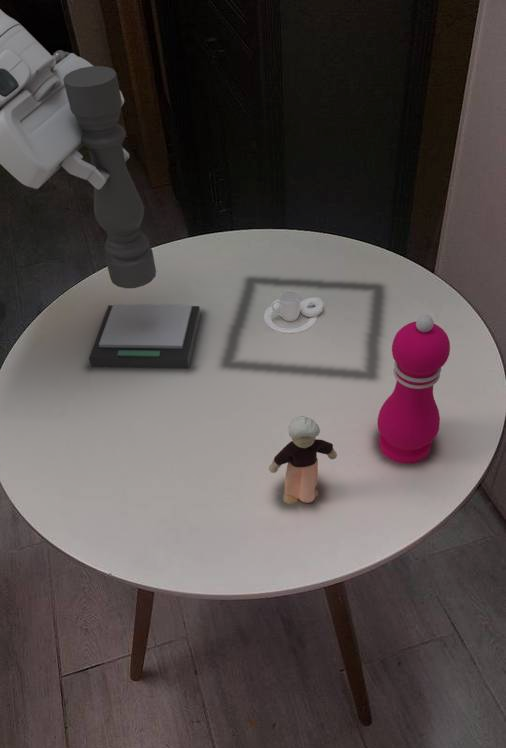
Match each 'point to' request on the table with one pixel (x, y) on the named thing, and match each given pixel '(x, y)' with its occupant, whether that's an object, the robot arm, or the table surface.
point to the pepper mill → (413, 392)
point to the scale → (146, 336)
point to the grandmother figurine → (302, 460)
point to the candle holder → (111, 174)
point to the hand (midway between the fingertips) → (115, 173)
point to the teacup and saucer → (294, 310)
